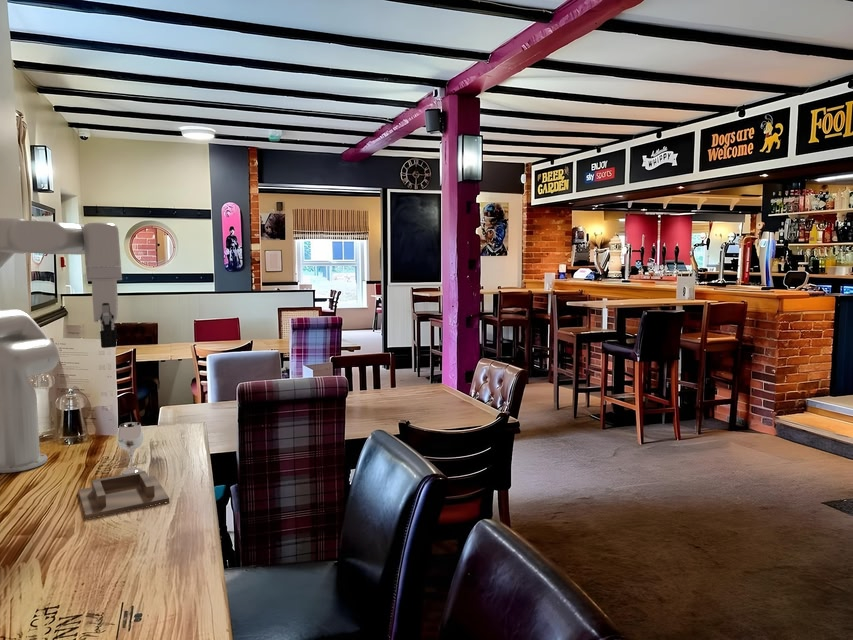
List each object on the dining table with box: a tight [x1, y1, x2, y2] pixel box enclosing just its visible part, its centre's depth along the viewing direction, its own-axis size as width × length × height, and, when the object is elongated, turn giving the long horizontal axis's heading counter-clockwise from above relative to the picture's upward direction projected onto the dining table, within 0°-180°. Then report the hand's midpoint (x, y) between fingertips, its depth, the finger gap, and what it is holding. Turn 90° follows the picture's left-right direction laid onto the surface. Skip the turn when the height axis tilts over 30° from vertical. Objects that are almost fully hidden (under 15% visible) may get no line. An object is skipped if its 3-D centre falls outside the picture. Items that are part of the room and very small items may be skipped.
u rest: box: [78, 470, 170, 520], centre depth 133 cm, size 16×16×4 cm
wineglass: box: [116, 421, 144, 475], centre depth 148 cm, size 6×6×12 cm
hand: (109, 345), depth 145 cm, fingers open, 9 cm apart
